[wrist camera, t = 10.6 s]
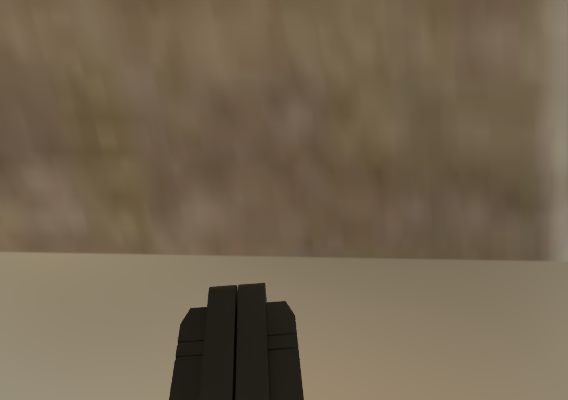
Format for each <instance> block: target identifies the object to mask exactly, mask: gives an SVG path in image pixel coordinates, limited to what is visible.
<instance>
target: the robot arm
mask: <svg viewBox="0 0 568 400" xmlns="http://www.w3.org/2000/svg"><path fill="white" fill-rule="evenodd" d="M169 400H304V398H303V389H302V379H301V369H300V359H299V350H298V341H297V331H296V322H295V315H294V313H293V312H292V311H291V309H290V307H289V306H288V304H287V303H286V302H285V301H282V302H267V299H266V288H265V283H257V284H244V285H238V289H237V286H236V285H231V286H217V287H210V288H209V294H208V304H207V307H201V308H191V309H190V310H189V312H188V313H187V315H186V316H185V318H184V319H183V321H182V323H181V324H180V331H179V337H178V346H177V350H176V360H175V364H174V370H173V377H172V384H171V390H170V397H169Z"/></svg>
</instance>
